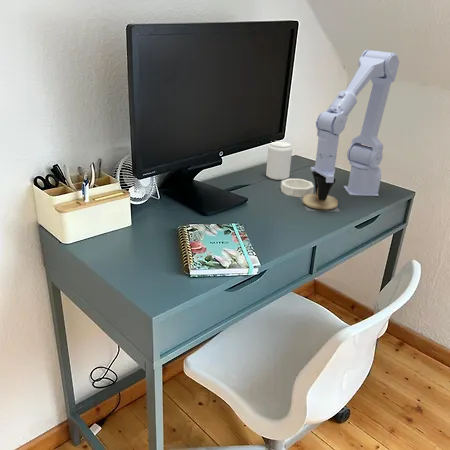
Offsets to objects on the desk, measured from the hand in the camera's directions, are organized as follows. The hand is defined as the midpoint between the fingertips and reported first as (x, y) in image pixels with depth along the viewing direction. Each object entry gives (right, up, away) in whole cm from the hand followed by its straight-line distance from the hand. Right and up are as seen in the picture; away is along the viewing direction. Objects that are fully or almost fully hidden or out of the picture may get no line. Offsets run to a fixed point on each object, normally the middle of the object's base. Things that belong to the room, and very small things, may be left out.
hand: (320, 197), depth 150 cm
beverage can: (-11, +8, +24) cm, 28 cm away
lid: (0, -2, +1) cm, 2 cm away
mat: (0, -2, +1) cm, 3 cm away
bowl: (-6, +2, +11) cm, 12 cm away
